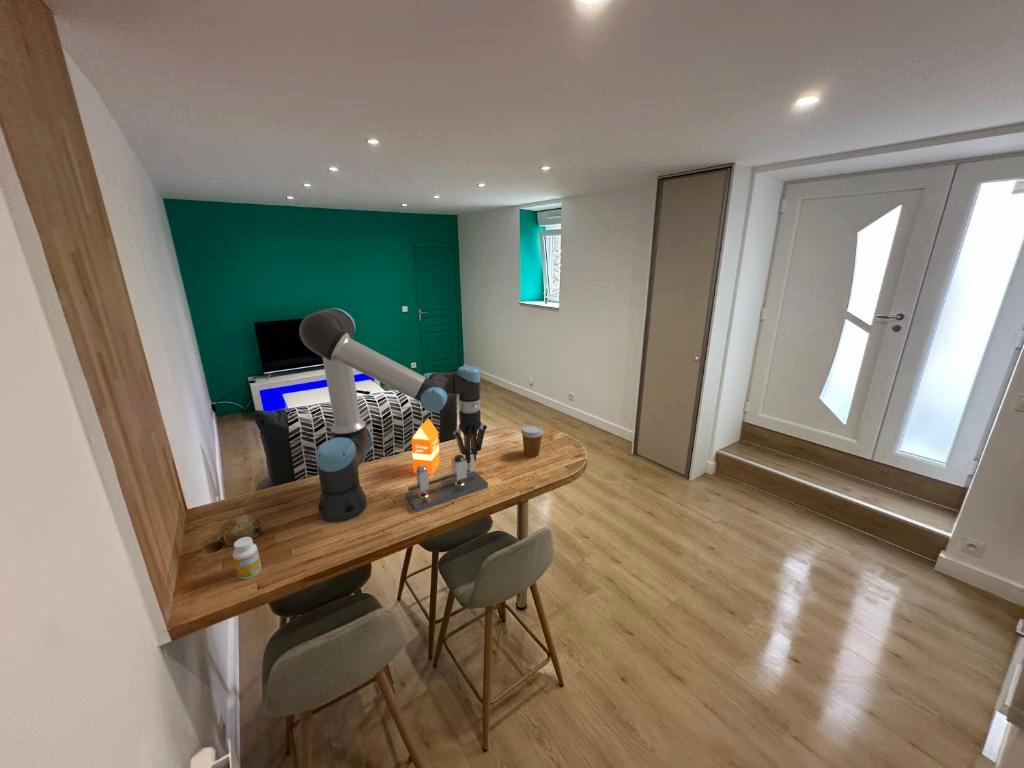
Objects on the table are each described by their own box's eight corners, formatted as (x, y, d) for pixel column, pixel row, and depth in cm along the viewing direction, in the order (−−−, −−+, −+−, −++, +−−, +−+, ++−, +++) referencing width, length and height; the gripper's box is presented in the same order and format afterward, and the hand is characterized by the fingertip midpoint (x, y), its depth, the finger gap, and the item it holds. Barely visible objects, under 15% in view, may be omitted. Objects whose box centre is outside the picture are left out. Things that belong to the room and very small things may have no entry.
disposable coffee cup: (541, 460, 167) (542, 434, 163) (518, 458, 169) (519, 432, 165) (543, 450, 176) (544, 425, 172) (522, 448, 178) (523, 423, 174)
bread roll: (249, 555, 117) (258, 532, 116) (209, 548, 113) (218, 525, 112) (259, 533, 126) (267, 512, 125) (222, 527, 122) (231, 505, 121)
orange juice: (439, 463, 163) (437, 418, 157) (432, 474, 155) (429, 427, 149) (421, 461, 165) (419, 417, 159) (413, 472, 156) (410, 425, 150)
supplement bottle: (239, 568, 107) (232, 538, 104) (262, 562, 110) (256, 532, 107) (236, 582, 103) (228, 551, 100) (260, 575, 105) (253, 545, 102)
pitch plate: (415, 512, 132) (413, 478, 128) (405, 498, 140) (402, 465, 136) (487, 487, 147) (487, 455, 143) (474, 475, 155) (474, 445, 151)
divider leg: (457, 485, 142) (456, 460, 139) (452, 480, 145) (451, 456, 142) (467, 481, 144) (466, 457, 141) (461, 476, 148) (461, 453, 145)
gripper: (457, 417, 133) (459, 479, 140) (491, 409, 140) (491, 468, 147) (448, 410, 139) (450, 470, 146) (480, 403, 146) (481, 460, 153)
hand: (470, 469), depth 147 cm, fingers closed
